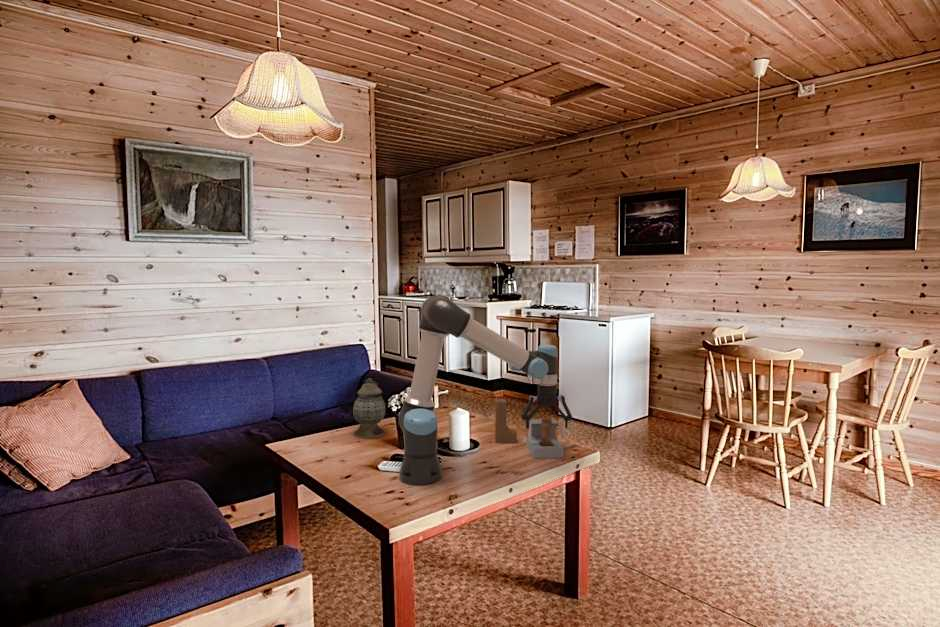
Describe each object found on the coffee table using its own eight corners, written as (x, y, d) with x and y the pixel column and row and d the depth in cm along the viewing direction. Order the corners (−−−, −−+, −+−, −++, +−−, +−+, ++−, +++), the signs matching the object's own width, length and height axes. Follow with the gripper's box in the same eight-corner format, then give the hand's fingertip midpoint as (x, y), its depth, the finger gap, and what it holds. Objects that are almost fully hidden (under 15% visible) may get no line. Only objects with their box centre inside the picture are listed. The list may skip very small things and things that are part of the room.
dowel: (542, 455, 227) (542, 421, 225) (540, 452, 231) (540, 418, 229) (552, 455, 227) (552, 421, 226) (549, 451, 231) (550, 418, 230)
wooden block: (515, 439, 246) (516, 399, 244) (516, 443, 241) (517, 401, 240) (495, 439, 246) (495, 398, 244) (495, 443, 241) (495, 401, 240)
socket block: (533, 458, 224) (534, 431, 222) (526, 444, 239) (526, 419, 238) (563, 457, 224) (564, 430, 223) (554, 444, 240) (555, 418, 239)
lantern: (347, 433, 254) (346, 377, 252) (374, 426, 264) (373, 373, 261) (364, 440, 244) (363, 383, 241) (391, 433, 253) (391, 378, 251)
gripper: (517, 386, 221) (517, 439, 223) (580, 385, 223) (579, 438, 226) (514, 382, 229) (514, 433, 231) (575, 381, 231) (574, 432, 233)
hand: (546, 436), depth 228 cm, fingers open, 13 cm apart
